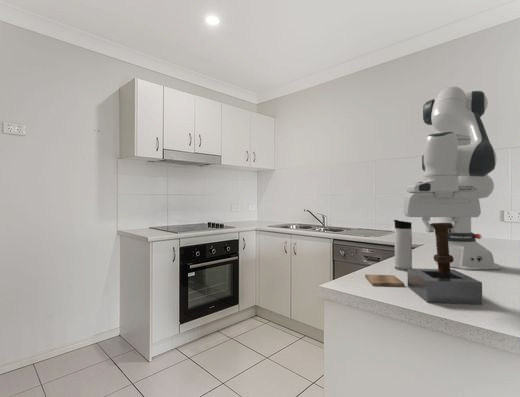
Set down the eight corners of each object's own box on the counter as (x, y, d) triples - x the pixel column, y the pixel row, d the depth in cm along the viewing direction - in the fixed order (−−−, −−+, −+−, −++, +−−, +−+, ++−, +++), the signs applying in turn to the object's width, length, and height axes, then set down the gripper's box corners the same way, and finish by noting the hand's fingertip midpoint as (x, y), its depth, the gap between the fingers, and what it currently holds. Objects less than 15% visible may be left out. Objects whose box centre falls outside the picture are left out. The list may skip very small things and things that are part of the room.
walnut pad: (393, 278, 102) (393, 275, 102) (404, 286, 93) (404, 283, 93) (365, 277, 104) (365, 274, 104) (372, 285, 94) (372, 282, 94)
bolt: (459, 275, 81) (455, 223, 82) (440, 276, 82) (436, 224, 82) (448, 271, 87) (444, 222, 87) (430, 271, 87) (427, 223, 88)
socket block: (453, 288, 91) (453, 269, 91) (482, 304, 77) (482, 282, 77) (407, 286, 92) (407, 268, 92) (427, 302, 79) (426, 280, 79)
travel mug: (390, 267, 118) (390, 219, 118) (405, 266, 119) (405, 219, 119) (399, 271, 112) (399, 220, 112) (415, 270, 112) (415, 220, 112)
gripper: (472, 186, 86) (472, 231, 86) (401, 186, 89) (401, 230, 89) (485, 185, 80) (486, 234, 80) (409, 186, 83) (409, 233, 83)
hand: (441, 232), depth 85 cm, fingers closed on bolt, 5 cm apart
